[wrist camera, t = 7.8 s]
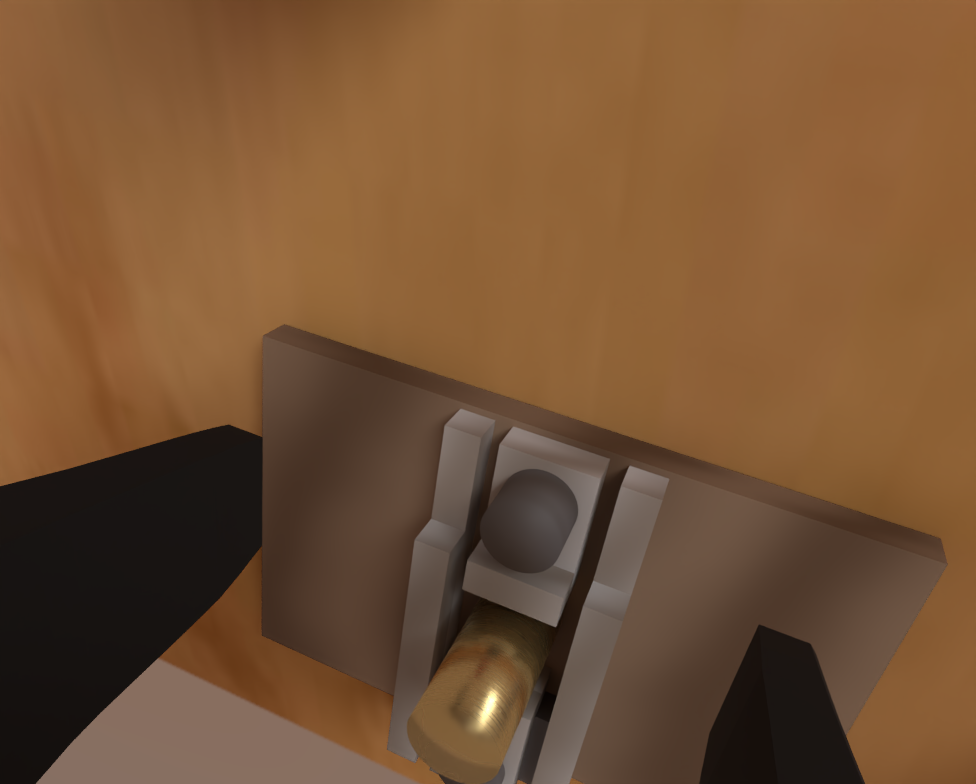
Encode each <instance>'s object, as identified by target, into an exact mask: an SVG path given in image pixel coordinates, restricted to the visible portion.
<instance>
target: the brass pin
mask: <svg viewBox="0 0 976 784" xmlns="http://www.w3.org/2000/svg"><path fill="white" fill-rule="evenodd" d="M561 623H562V614H561V617H560V619H559V621H558V624H557V626H556V627H554V626H551V625H549V624H546V623H544V622H541V621H539V620H536V619H534V618H532V617H529V616H527V615H524V614H522V613H519V612H517V611H514V610H512V609H509V608H507V607H504V606H502V605H499V604H497V603H495V602H492V601H490V600H487V599H485V598H482V597H480V599H479V601H478V602H477V604H476V606H475V607H474V609H473V611H472V612H471V614H470V616H469V617H468V619H467V621H466V622H465V624H464V626H463V628H462V629H461V631H460V633H459V634H458V636H457V638H456V639H455V641H454V643H453V644H452V646H451V648H450V649H449V651H448V653H447V655H446V656H445V658H444V660H443V661H442V663H441V665H440V666H439V668H438V670H437V671H436V673H435V675H434V676H433V678H432V680H431V682H430V683H429V685H428V687H427V688H426V690H425V692H424V693H423V695H422V697H421V698H420V700H419V702H418V703H417V705H416V707H415V709H414V710H413V712H412V714H411V715H410V717H409V719H408V722H407V735H408V738H409V741H410V743H411V745H412V747H413V749H414V750H415V752H416V753H417V754H418V756H419V757H420V758H421V759H422V760H423V761H424V762H425V763H426V764H427V765H428V766H429V767H431V768H432V769H433V770H435V771H436V772H438V773H439V774H441V775H443V776H445V777H447V778H449V779H451V780H454V781H457V782H460V783H465V784H482V783H486V782H488V781H490V780H492V779H493V778H494V777H495V776H496V775H497V774H498V772H499V770H500V767H501V765H502V763H503V760H504V758H505V756H506V753H507V751H508V749H509V746H510V744H511V741H512V739H513V737H514V734H515V732H516V730H517V727H518V725H519V723H520V720H521V718H522V716H523V713H524V711H525V709H526V706H527V704H528V702H529V699H530V697H531V694H532V692H533V690H534V687H535V685H536V683H537V680H538V678H539V676H540V673H541V671H542V669H543V666H544V664H545V662H546V659H547V657H548V655H549V652H550V650H551V647H552V645H553V643H554V640H555V638H556V636H557V633H558V631H559V629H560V626H561Z"/></svg>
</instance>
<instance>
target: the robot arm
mask: <svg viewBox="0 0 976 784" xmlns="http://www.w3.org/2000/svg"><path fill="white" fill-rule="evenodd" d="M262 493H263V437H260V436H257V435H255V434H252V433H249V432H247V431H244V430H241V429H239V428H236V427H233V426H231V425H225V426H220V427H216V428H211V429H207V430H203V431H199V432H196V433H192V434H188V435H185V436H181V437H177V438H174V439H170V440H167V441H163V442H160V443H156V444H153V445H150V446H146V447H143V448H139V449H136V450H133V451H129V452H126V453H122V454H119V455H115V456H112V457H108V458H105V459H101V460H98V461H94V462H91V463H88V464H84V465H81V466H77V467H74V468H70V469H66V470H62V471H59V472H55V473H51V474H47V475H43V476H39V477H35V478H31V479H27V480H23V481H20V482H16V483H12V484H8V485H4V486H0V784H36V782H37V781H38V780H39V779H40V778H41V777H42V776H43V774H44V773H45V772H46V771H47V770H48V769H49V768H50V767H51V765H52V764H53V763H54V762H55V761H56V760H57V759H58V757H59V756H60V755H61V754H62V753H63V752H64V750H65V749H66V748H67V747H68V746H69V745H70V744H71V743H72V741H73V740H74V739H75V738H76V737H77V736H78V735H79V734H80V733H81V732H82V731H83V730H84V729H85V728H86V727H87V726H88V725H89V724H90V723H91V722H92V721H93V720H94V719H95V718H96V717H97V716H98V715H99V714H100V713H101V712H102V711H103V710H104V709H105V708H106V707H107V706H108V705H109V704H110V703H111V702H112V701H113V700H114V699H115V698H117V697H118V696H119V695H120V694H121V693H122V692H123V691H124V690H125V689H126V688H127V687H128V686H129V685H130V684H131V683H132V682H133V681H134V680H135V679H137V678H138V677H139V676H140V675H141V674H142V673H143V672H144V671H145V670H146V669H147V668H148V667H149V666H150V665H151V664H152V663H153V662H154V661H155V660H156V659H158V658H159V657H160V656H161V655H162V654H163V653H164V652H165V651H166V650H167V649H168V648H169V647H170V646H171V645H172V644H173V643H174V642H175V641H176V640H177V639H179V638H180V637H181V636H182V635H183V634H184V633H185V632H186V631H187V630H188V629H189V628H190V627H191V626H192V625H193V624H194V623H195V622H196V621H197V620H198V619H199V618H200V617H201V616H202V615H203V614H204V613H205V612H206V611H207V610H208V609H209V608H210V607H211V606H212V605H213V604H214V603H215V602H216V601H217V600H218V599H219V598H220V597H221V596H222V595H223V594H224V592H225V591H226V590H227V589H228V588H229V586H230V585H231V584H232V583H233V582H234V580H235V579H236V578H237V577H238V576H239V574H240V573H241V572H242V570H243V569H244V568H245V567H246V565H247V564H248V563H249V561H250V560H251V559H252V557H253V556H254V555H255V554H256V552H257V551H258V550H259V548H260V547H261V546H262ZM699 784H865V782H864V780H863V778H862V775H861V773H860V770H859V768H858V765H857V763H856V761H855V758H854V756H853V753H852V751H851V748H850V745H849V743H848V740H847V738H846V735H845V732H844V730H843V727H842V725H841V722H840V719H839V717H838V714H837V711H836V709H835V706H834V703H833V701H832V698H831V695H830V692H829V689H828V687H827V684H826V681H825V678H824V675H823V672H822V669H821V667H820V664H819V661H818V658H817V655H816V653H815V651H814V649H813V647H812V645H811V644H810V643H808V642H805V641H802V640H800V639H797V638H794V637H792V636H789V635H786V634H784V633H781V632H778V631H776V630H773V629H770V628H768V627H765V626H762V625H760V624H759V625H758V627H757V629H756V632H755V634H754V636H753V638H752V640H751V643H750V645H749V647H748V649H747V651H746V654H745V656H744V658H743V660H742V662H741V665H740V667H739V669H738V671H737V673H736V676H735V678H734V680H733V682H732V684H731V687H730V689H729V691H728V693H727V695H726V698H725V700H724V702H723V704H722V706H721V709H720V711H719V713H718V715H717V717H716V720H715V722H714V724H713V726H712V728H711V731H710V733H709V737H708V742H707V747H706V752H705V757H704V762H703V767H702V771H701V776H700V782H699Z"/></svg>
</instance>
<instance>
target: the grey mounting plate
mask: <svg viewBox="0 0 976 784" xmlns="http://www.w3.org/2000/svg"><path fill="white" fill-rule="evenodd" d="M262 437H263V493H262V636H264V637H266V638H269V639H271V640H273V641H275V642H277V643H279V644H282V645H284V646H286V647H288V648H290V649H292V650H295V651H297V652H299V653H301V654H303V655H306V656H308V657H310V658H312V659H314V660H316V661H319V662H321V663H323V664H325V665H327V666H330V667H332V668H334V669H336V670H338V671H340V672H343V673H345V674H347V675H349V676H351V677H353V678H356V679H358V680H360V681H362V682H364V683H367V684H369V685H371V686H373V687H375V688H377V689H380V690H382V691H384V692H386V693H388V694H391V695H393V696H394V700H393V707H392V715H391V722H390V730H389V737H388V745H387V750H389V751H391V752H393V753H395V754H397V755H399V756H402V757H404V758H406V759H408V760H410V761H412V762H414V763H416V761H417V759H418V757H419V756H418V754H417V753H416V752H415V750H414V749H413V747H412V745H411V743H410V741H409V738H408V735H407V722H408V719H409V717H410V715H411V714H412V712H413V710H414V709H415V707H416V705H417V703H418V702H419V700H420V698H421V697H422V695H423V693H424V692H425V690H426V688H427V687H428V685H429V683H430V682H431V680H432V678H433V676H434V675H435V673H436V671H437V670H438V668H439V666H440V665H441V663H442V661H443V660H444V658H445V656H446V655H447V653H448V651H449V649H450V648H451V646H452V644H453V643H454V641H455V639H456V638H457V636H458V634H459V633H460V631H461V629H462V628H463V626H464V624H465V622H466V621H467V619H468V617H469V616H470V614H471V612H472V611H473V609H474V607H475V606H476V604H477V602H478V601H479V599H480V597H482V598H485V599H487V600H490V601H492V602H495V603H497V604H499V605H502V606H504V607H507V608H509V609H512V610H514V611H517V612H519V613H522V614H524V615H527V616H529V617H532V618H534V619H536V620H539V621H541V622H544V623H546V624H549V625H551V626H554V627H556V626H557V624H558V621H559V619H560V617H561V614H562V623H561V626H560V629H559V631H558V633H557V636H556V638H555V640H554V643H553V645H552V647H551V650H550V652H549V655H548V657H547V659H546V662H545V664H544V666H543V669H542V671H541V673H540V676H539V678H538V680H537V683H536V685H535V687H534V690H533V692H532V694H531V697H530V699H529V702H528V704H527V706H526V709H525V711H524V713H523V716H522V718H521V720H520V723H519V725H518V727H517V730H516V732H515V734H514V737H513V739H512V741H511V744H510V746H509V749H508V751H507V753H506V756H505V758H504V760H503V763H502V765H501V767H500V770H499V772H498V774H497V775H496V776H495V777H494V778H493V779H492V780H490V781H488V782H486V783H482V784H516V783H517V781H518V780H520V781H523V782H525V783H527V784H569V783H570V780H571V778H573V779H576V780H578V781H580V782H582V783H584V784H699V782H700V776H701V771H702V767H703V762H704V757H705V752H706V747H707V742H708V737H709V733H710V731H711V728H712V726H713V724H714V722H715V720H716V717H717V715H718V713H719V711H720V709H721V706H722V704H723V702H724V700H725V698H726V695H727V693H728V691H729V689H730V687H731V684H732V682H733V680H734V678H735V676H736V673H737V671H738V669H739V667H740V665H741V662H742V660H743V658H744V656H745V654H746V651H747V649H748V647H749V645H750V643H751V640H752V638H753V636H754V634H755V632H756V629H757V627H758V625H759V624H760V625H762V626H765V627H768V628H770V629H773V630H776V631H778V632H781V633H784V634H786V635H789V636H792V637H794V638H797V639H800V640H802V641H805V642H808V643H810V644H811V645H812V647H813V649H814V651H815V653H816V655H817V658H818V661H819V664H820V667H821V669H822V672H823V675H824V678H825V681H826V684H827V687H828V689H829V692H830V695H831V698H832V701H833V703H834V706H835V709H836V711H837V714H838V717H839V719H840V722H841V725H842V727H843V730H844V732H845V735H847V733H848V731H849V730H850V728H851V726H852V725H853V723H854V721H855V720H856V718H857V716H858V714H859V713H860V711H861V709H862V708H863V706H864V704H865V703H866V701H867V699H868V698H869V696H870V694H871V693H872V691H873V689H874V688H875V686H876V684H877V682H878V681H879V679H880V677H881V676H882V674H883V672H884V671H885V669H886V667H887V666H888V664H889V662H890V661H891V659H892V657H893V656H894V654H895V652H896V651H897V649H898V647H899V645H900V644H901V642H902V640H903V639H904V637H905V635H906V634H907V632H908V630H909V629H910V627H911V625H912V624H913V622H914V620H915V619H916V617H917V615H918V613H919V612H920V610H921V608H922V607H923V605H924V603H925V602H926V600H927V598H928V597H929V595H930V593H931V592H932V590H933V588H934V587H935V585H936V583H937V581H938V580H939V578H940V576H941V575H942V573H943V571H944V570H945V568H946V566H947V565H948V564H947V560H946V557H945V553H944V549H943V545H942V542H941V539H940V538H937V537H934V536H931V535H928V534H925V533H922V532H918V531H915V530H912V529H909V528H906V527H903V526H900V525H897V524H894V523H891V522H888V521H885V520H882V519H879V518H876V517H872V516H869V515H866V514H863V513H860V512H857V511H854V510H851V509H848V508H845V507H842V506H839V505H836V504H833V503H830V502H827V501H823V500H820V499H817V498H814V497H811V496H808V495H805V494H802V493H799V492H796V491H793V490H790V489H787V488H784V487H781V486H777V485H774V484H771V483H768V482H765V481H762V480H759V479H756V478H753V477H750V476H747V475H744V474H741V473H738V472H735V471H731V470H728V469H725V468H722V467H719V466H716V465H713V464H710V463H707V462H704V461H701V460H698V459H695V458H692V457H689V456H685V455H682V454H679V453H676V452H673V451H670V450H667V449H664V448H661V447H658V446H655V445H652V444H649V443H646V442H643V441H640V440H636V439H633V438H630V437H627V436H624V435H621V434H618V433H615V432H612V431H609V430H606V429H603V428H600V427H597V426H594V425H590V424H587V423H584V422H581V421H578V420H575V419H572V418H569V417H566V416H563V415H560V414H557V413H554V412H551V411H548V410H544V409H541V408H538V407H535V406H532V405H529V404H526V403H523V402H520V401H517V400H514V399H511V398H508V397H505V396H502V395H498V394H495V393H492V392H489V391H486V390H483V389H480V388H477V387H474V386H471V385H468V384H465V383H462V382H459V381H456V380H453V379H449V378H446V377H443V376H440V375H437V374H434V373H431V372H428V371H425V370H422V369H419V368H416V367H413V366H410V365H407V364H403V363H400V362H397V361H394V360H391V359H388V358H385V357H382V356H379V355H376V354H373V353H370V352H367V351H364V350H361V349H357V348H354V347H351V346H348V345H345V344H342V343H339V342H336V341H333V340H330V339H327V338H324V337H321V336H318V335H315V334H311V333H308V332H305V331H302V330H299V329H296V328H293V327H290V326H287V325H282V326H280V327H278V328H277V329H275V330H273V331H271V332H269V333H267V334H265V335H264V336H263V427H262ZM430 770H431V771H433V772H435V773H437V774H439V773H438V772H436V771H435V770H433V769H432V768H431V767H430ZM439 776H440V777H441V779H442V780H443V782H444V783H445V784H465V783H460V782H457V781H454V780H451V779H449V778H447V777H445V776H443V775H441V774H439Z"/></svg>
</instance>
